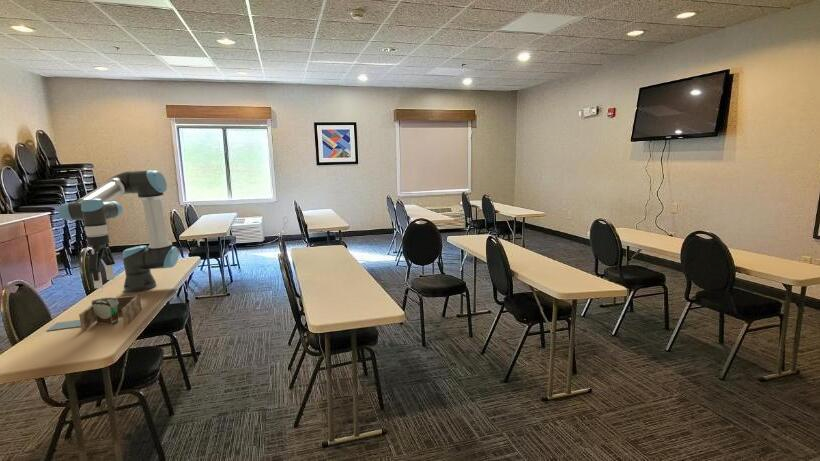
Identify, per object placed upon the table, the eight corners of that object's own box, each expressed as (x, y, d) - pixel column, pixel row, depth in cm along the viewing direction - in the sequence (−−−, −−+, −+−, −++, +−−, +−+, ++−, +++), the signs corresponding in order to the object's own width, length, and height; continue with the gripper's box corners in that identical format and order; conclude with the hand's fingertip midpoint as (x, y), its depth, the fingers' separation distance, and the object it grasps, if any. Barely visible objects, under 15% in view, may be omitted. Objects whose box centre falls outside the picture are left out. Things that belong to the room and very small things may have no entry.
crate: (100, 314, 190) (98, 299, 189) (141, 309, 195) (139, 294, 194) (81, 330, 171) (79, 314, 170) (127, 324, 176) (124, 308, 175)
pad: (57, 323, 180) (57, 322, 180) (94, 318, 184) (94, 317, 184) (46, 331, 171) (46, 330, 171) (86, 326, 176) (86, 325, 176)
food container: (128, 319, 181) (124, 298, 180) (114, 325, 176) (110, 303, 174) (108, 317, 185) (105, 296, 184) (94, 322, 180) (90, 300, 178)
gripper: (98, 231, 185) (106, 277, 188) (73, 241, 161) (82, 292, 165) (118, 230, 187) (124, 275, 190) (95, 239, 163) (104, 290, 167)
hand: (105, 283), depth 177 cm, fingers open, 13 cm apart
